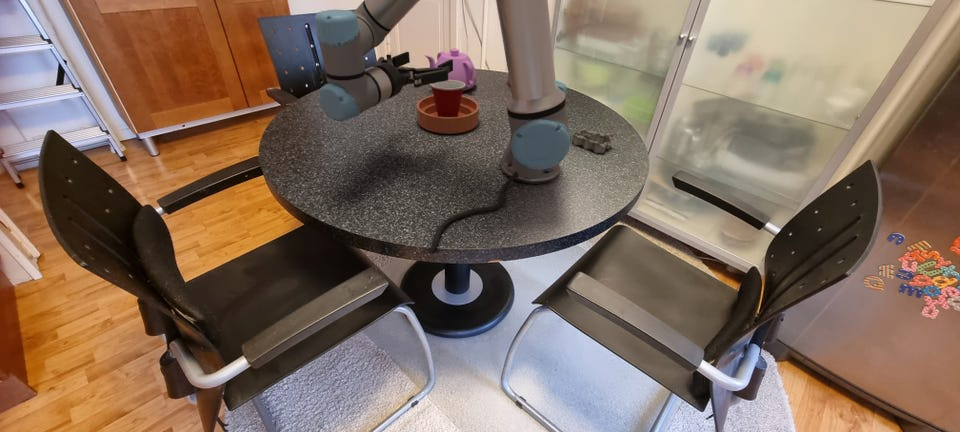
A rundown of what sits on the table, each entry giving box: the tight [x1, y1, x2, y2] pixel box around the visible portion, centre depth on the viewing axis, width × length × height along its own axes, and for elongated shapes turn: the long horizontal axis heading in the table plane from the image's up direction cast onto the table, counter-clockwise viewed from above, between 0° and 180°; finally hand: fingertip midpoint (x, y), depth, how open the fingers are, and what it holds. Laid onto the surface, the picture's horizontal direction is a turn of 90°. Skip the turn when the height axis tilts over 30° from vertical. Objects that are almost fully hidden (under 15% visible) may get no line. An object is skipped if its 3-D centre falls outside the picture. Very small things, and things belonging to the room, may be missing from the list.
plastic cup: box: [429, 80, 465, 117], centre depth 115 cm, size 11×11×12 cm
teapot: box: [424, 48, 478, 92], centre depth 140 cm, size 22×22×14 cm
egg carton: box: [571, 128, 615, 154], centre depth 109 cm, size 11×8×4 cm
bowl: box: [416, 95, 480, 135], centre depth 117 cm, size 19×19×6 cm
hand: (429, 60), depth 99 cm, fingers open, 13 cm apart
